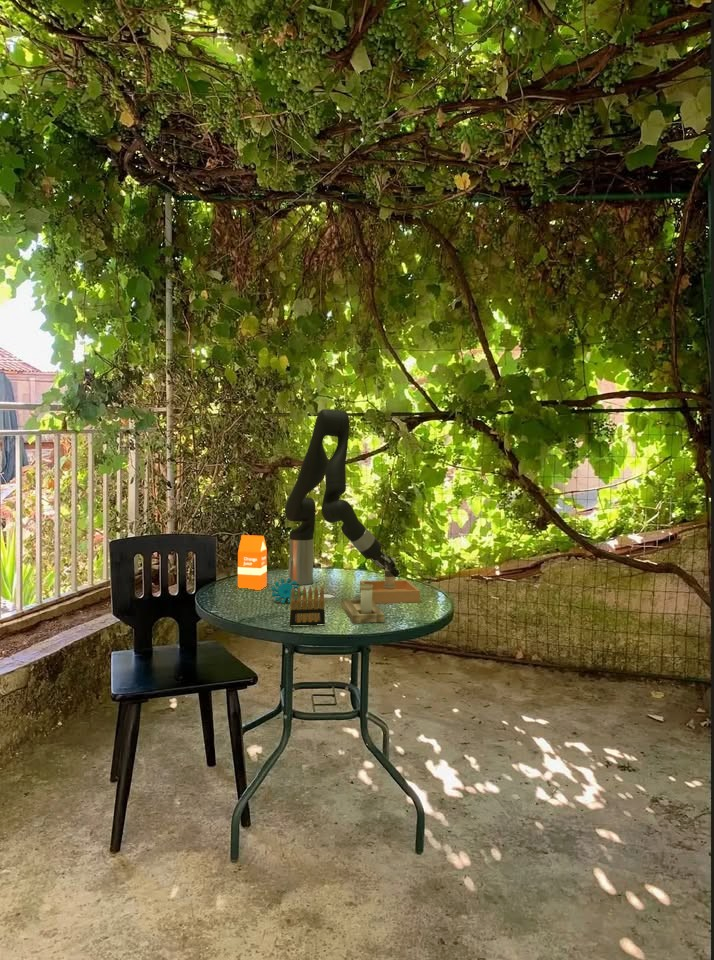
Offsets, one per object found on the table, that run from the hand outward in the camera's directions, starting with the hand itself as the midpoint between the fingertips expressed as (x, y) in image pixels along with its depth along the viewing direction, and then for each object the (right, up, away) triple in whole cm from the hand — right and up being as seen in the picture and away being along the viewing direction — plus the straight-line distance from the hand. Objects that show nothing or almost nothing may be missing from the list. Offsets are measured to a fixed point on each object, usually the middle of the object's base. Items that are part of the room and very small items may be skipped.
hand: (394, 574), depth 252 cm
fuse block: (-12, -10, -25) cm, 29 cm away
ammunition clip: (-29, -11, -39) cm, 49 cm away
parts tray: (-2, -8, 0) cm, 8 cm away
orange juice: (-53, -7, +10) cm, 54 cm away
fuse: (-11, -10, -31) cm, 35 cm away
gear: (-37, -9, -9) cm, 40 cm away
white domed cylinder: (-2, -5, -1) cm, 5 cm away
